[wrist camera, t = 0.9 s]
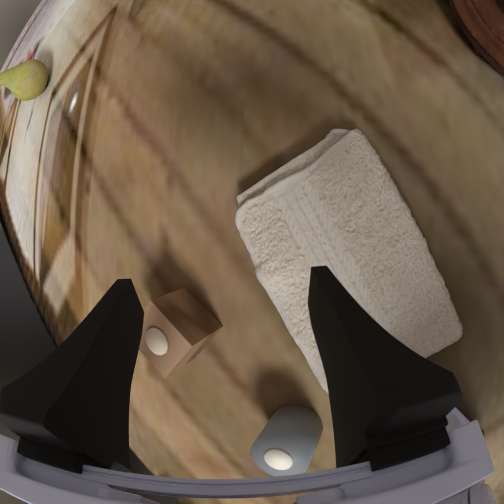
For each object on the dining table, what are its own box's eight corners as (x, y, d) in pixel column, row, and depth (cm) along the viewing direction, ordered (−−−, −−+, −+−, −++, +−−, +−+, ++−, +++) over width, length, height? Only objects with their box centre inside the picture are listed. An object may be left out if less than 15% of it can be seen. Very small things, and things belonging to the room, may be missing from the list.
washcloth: (353, 123, 21) (349, 111, 18) (465, 328, 19) (475, 343, 16) (233, 206, 26) (214, 205, 23) (337, 389, 24) (330, 408, 21)
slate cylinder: (333, 428, 24) (320, 466, 19) (297, 451, 26) (279, 485, 21) (295, 395, 25) (275, 429, 20) (261, 420, 27) (238, 452, 22)
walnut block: (223, 325, 27) (190, 347, 23) (196, 356, 29) (163, 379, 24) (185, 286, 28) (148, 300, 24) (162, 320, 30) (127, 336, 25)
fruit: (57, 57, 35) (-2, 42, 24) (55, 92, 35) (-10, 79, 24) (37, 79, 38) (-18, 69, 27) (35, 113, 38) (-25, 106, 27)
